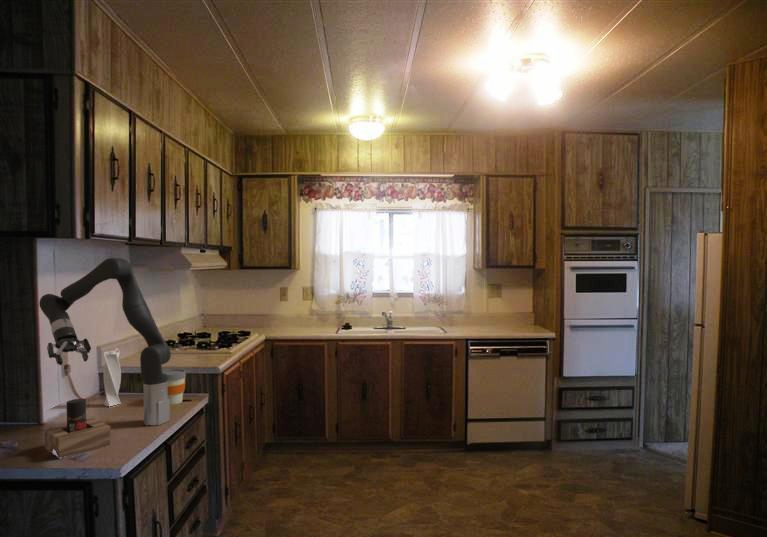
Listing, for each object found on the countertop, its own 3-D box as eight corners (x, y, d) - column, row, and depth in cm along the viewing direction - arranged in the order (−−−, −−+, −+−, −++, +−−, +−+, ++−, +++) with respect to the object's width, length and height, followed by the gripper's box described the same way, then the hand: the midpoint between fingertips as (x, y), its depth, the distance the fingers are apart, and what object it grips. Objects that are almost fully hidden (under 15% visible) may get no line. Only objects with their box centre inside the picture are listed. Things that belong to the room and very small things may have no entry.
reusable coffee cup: (167, 407, 210) (167, 376, 211) (153, 403, 217) (152, 373, 217) (191, 400, 221) (191, 371, 221) (176, 397, 228) (176, 368, 228)
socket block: (110, 444, 165) (109, 426, 165) (59, 459, 152) (58, 439, 152) (93, 435, 175) (93, 417, 175) (44, 448, 162) (44, 429, 162)
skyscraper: (125, 404, 217) (124, 347, 217) (109, 408, 210) (108, 350, 210) (116, 402, 221) (115, 346, 221) (100, 406, 214) (99, 348, 214)
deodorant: (65, 445, 160) (64, 404, 160) (68, 440, 165) (68, 400, 165) (85, 442, 162) (84, 401, 162) (87, 437, 168) (87, 397, 168)
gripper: (45, 327, 178) (54, 359, 171) (85, 324, 189) (96, 353, 182) (41, 340, 181) (50, 371, 174) (80, 335, 193) (91, 364, 185)
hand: (73, 362), depth 178 cm, fingers open, 8 cm apart
